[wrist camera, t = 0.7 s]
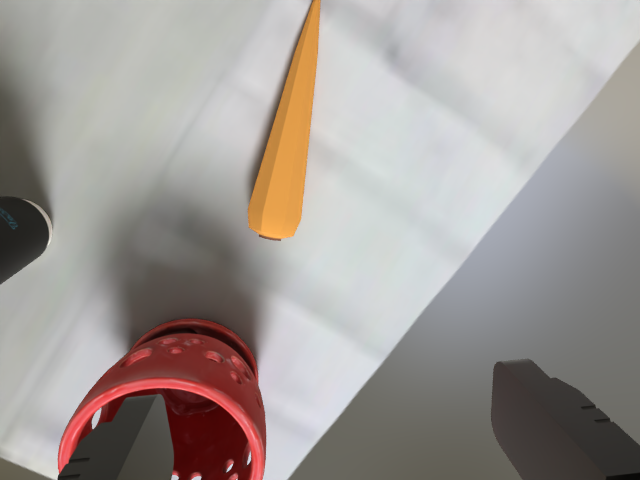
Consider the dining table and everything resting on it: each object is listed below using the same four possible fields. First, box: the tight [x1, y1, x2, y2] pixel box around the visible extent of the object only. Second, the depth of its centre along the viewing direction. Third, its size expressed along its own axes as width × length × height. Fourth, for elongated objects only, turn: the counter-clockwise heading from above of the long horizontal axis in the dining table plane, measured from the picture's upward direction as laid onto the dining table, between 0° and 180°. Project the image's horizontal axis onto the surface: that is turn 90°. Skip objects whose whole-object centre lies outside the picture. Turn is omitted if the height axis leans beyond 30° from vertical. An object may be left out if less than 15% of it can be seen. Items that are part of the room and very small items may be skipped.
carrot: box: [248, 0, 320, 241], centre depth 33 cm, size 20×4×4 cm, turn 167°
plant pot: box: [58, 319, 266, 480], centre depth 33 cm, size 13×13×12 cm
